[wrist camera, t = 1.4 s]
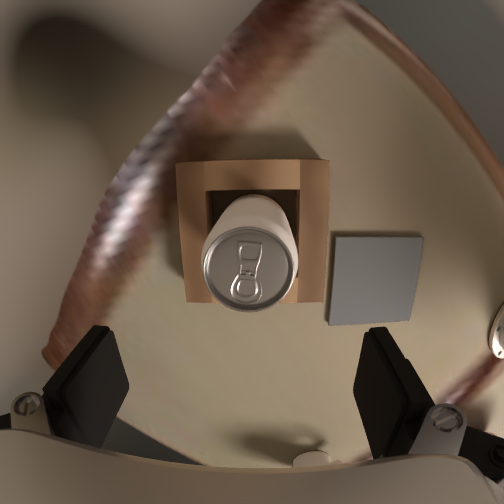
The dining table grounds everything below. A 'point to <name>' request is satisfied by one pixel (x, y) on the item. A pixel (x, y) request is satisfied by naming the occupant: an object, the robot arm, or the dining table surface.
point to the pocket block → (245, 178)
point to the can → (250, 255)
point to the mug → (313, 459)
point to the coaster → (374, 279)
